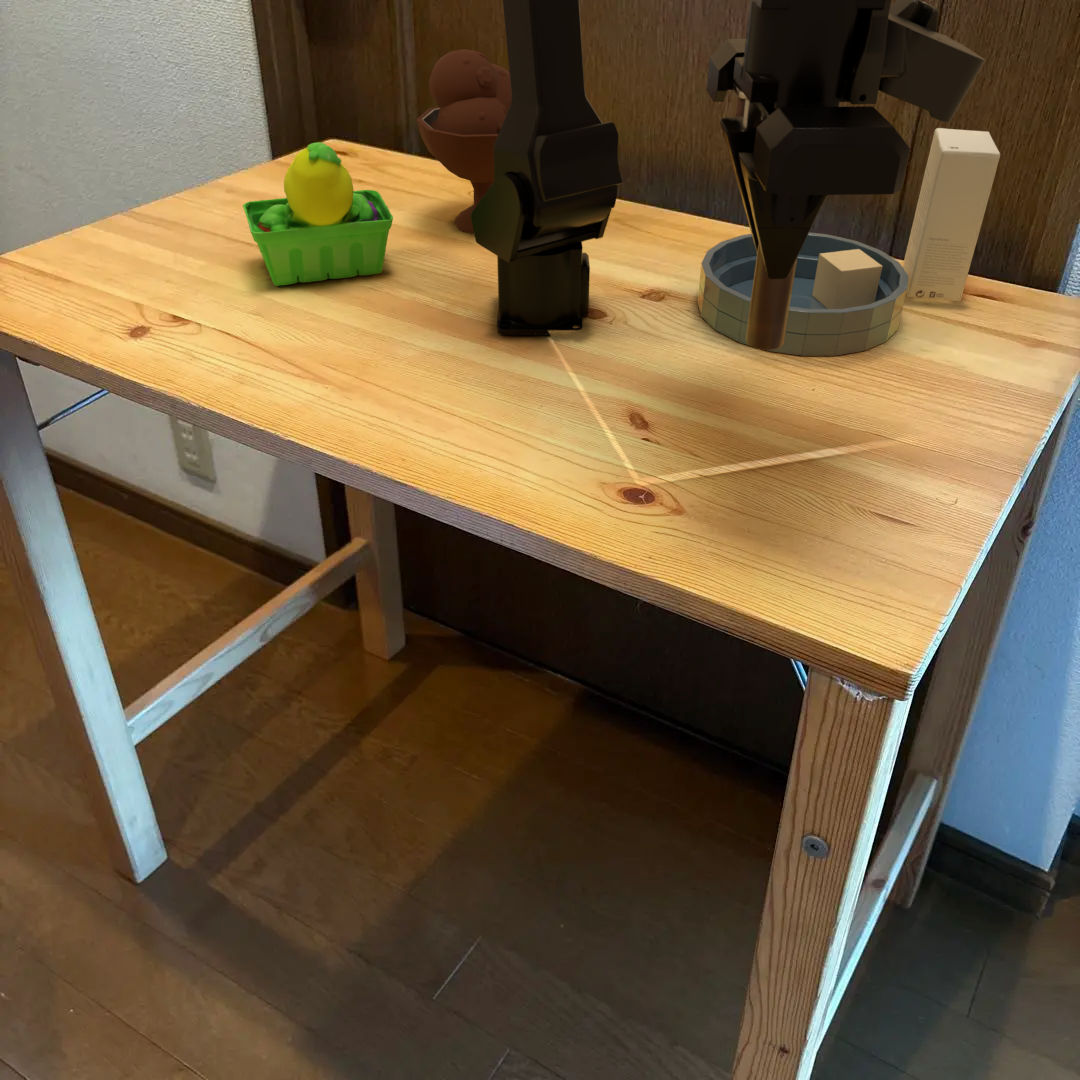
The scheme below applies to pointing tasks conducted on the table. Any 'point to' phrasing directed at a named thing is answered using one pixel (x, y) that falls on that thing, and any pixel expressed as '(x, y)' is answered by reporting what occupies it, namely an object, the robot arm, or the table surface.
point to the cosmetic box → (949, 213)
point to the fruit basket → (320, 223)
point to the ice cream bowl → (466, 120)
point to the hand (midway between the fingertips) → (772, 269)
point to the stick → (768, 308)
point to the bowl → (801, 298)
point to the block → (846, 279)
